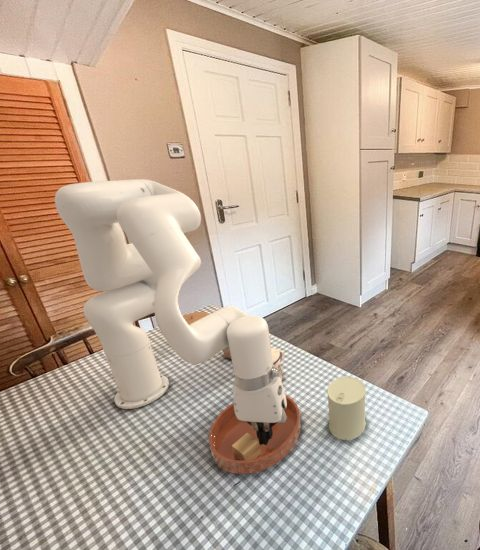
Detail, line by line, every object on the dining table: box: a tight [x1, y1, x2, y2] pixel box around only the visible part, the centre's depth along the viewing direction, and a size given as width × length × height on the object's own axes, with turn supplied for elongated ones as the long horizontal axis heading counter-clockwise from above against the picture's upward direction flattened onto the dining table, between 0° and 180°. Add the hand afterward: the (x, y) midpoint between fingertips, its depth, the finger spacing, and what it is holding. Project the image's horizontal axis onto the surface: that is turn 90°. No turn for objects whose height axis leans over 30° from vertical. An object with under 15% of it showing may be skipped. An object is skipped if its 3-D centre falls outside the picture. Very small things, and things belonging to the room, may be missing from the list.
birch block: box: [232, 433, 261, 461], centre depth 67 cm, size 4×4×4 cm
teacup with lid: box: [271, 347, 284, 381], centre depth 90 cm, size 12×9×12 cm
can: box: [326, 376, 367, 441], centre depth 74 cm, size 9×9×12 cm
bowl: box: [208, 394, 302, 475], centre depth 72 cm, size 20×20×4 cm
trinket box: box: [182, 311, 209, 325], centre depth 111 cm, size 11×11×9 cm
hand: (265, 439), depth 69 cm, fingers closed
